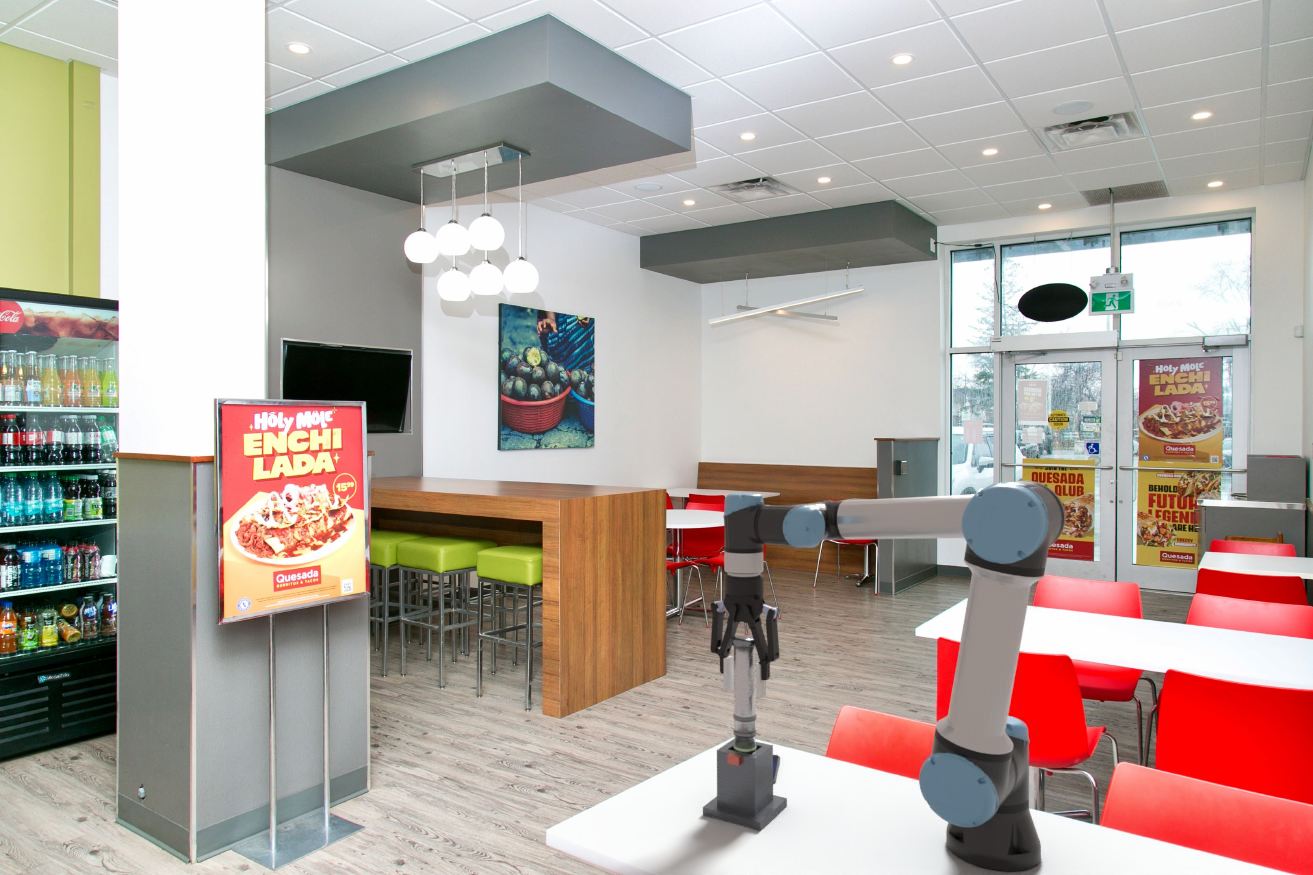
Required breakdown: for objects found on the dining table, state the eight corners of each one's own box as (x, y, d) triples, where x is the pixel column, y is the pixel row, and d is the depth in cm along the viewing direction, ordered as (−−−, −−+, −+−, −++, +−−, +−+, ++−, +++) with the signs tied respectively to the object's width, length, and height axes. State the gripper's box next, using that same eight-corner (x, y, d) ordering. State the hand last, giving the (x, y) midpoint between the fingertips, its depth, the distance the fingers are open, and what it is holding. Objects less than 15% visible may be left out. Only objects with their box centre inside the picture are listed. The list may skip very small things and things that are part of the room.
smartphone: (740, 778, 169) (747, 752, 184) (740, 783, 169) (748, 756, 184) (775, 781, 168) (780, 754, 182) (775, 786, 168) (780, 758, 182)
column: (761, 757, 157) (761, 637, 157) (750, 765, 153) (750, 642, 153) (739, 752, 159) (738, 634, 159) (728, 760, 155) (727, 639, 155)
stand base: (786, 805, 158) (786, 743, 158) (760, 830, 148) (760, 764, 148) (731, 791, 164) (731, 732, 164) (702, 814, 154) (702, 751, 154)
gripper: (798, 574, 154) (799, 696, 154) (709, 567, 165) (710, 681, 164) (782, 580, 148) (783, 707, 148) (691, 572, 158) (691, 690, 158)
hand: (744, 693), depth 156 cm, fingers open, 6 cm apart
